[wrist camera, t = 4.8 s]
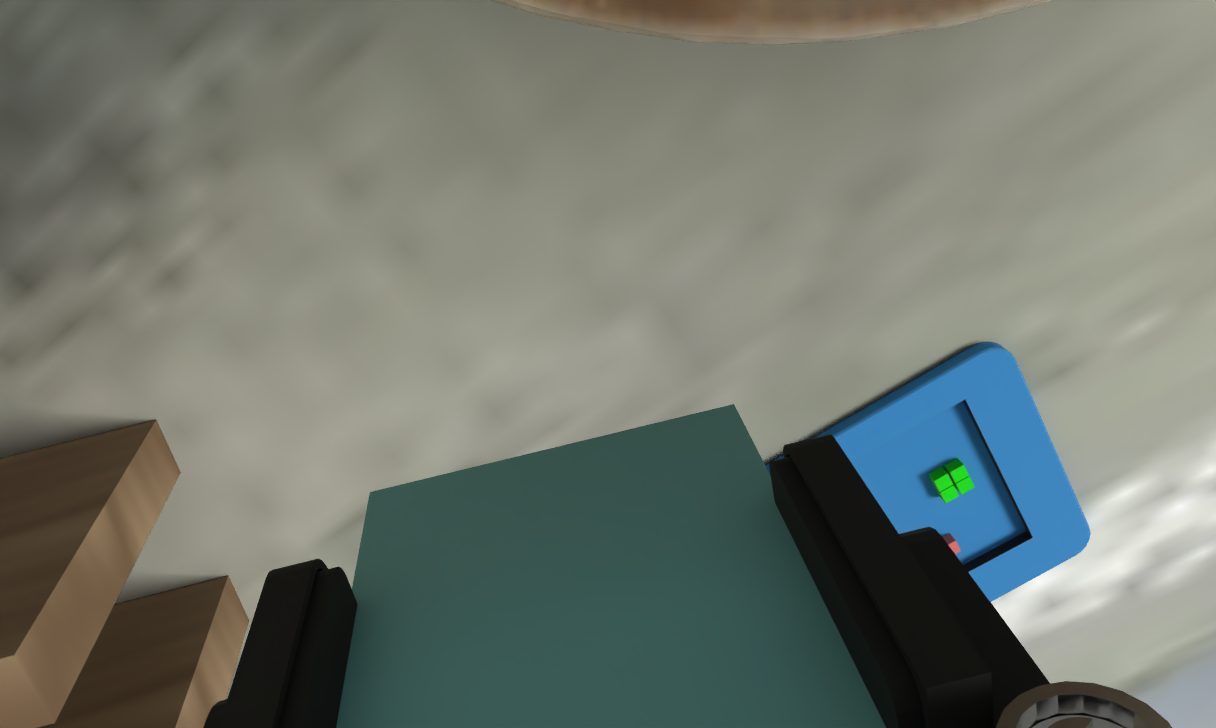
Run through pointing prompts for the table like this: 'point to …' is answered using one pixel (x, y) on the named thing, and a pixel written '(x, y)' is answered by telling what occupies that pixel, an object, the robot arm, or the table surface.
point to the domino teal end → (596, 594)
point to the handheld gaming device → (970, 468)
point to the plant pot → (770, 17)
